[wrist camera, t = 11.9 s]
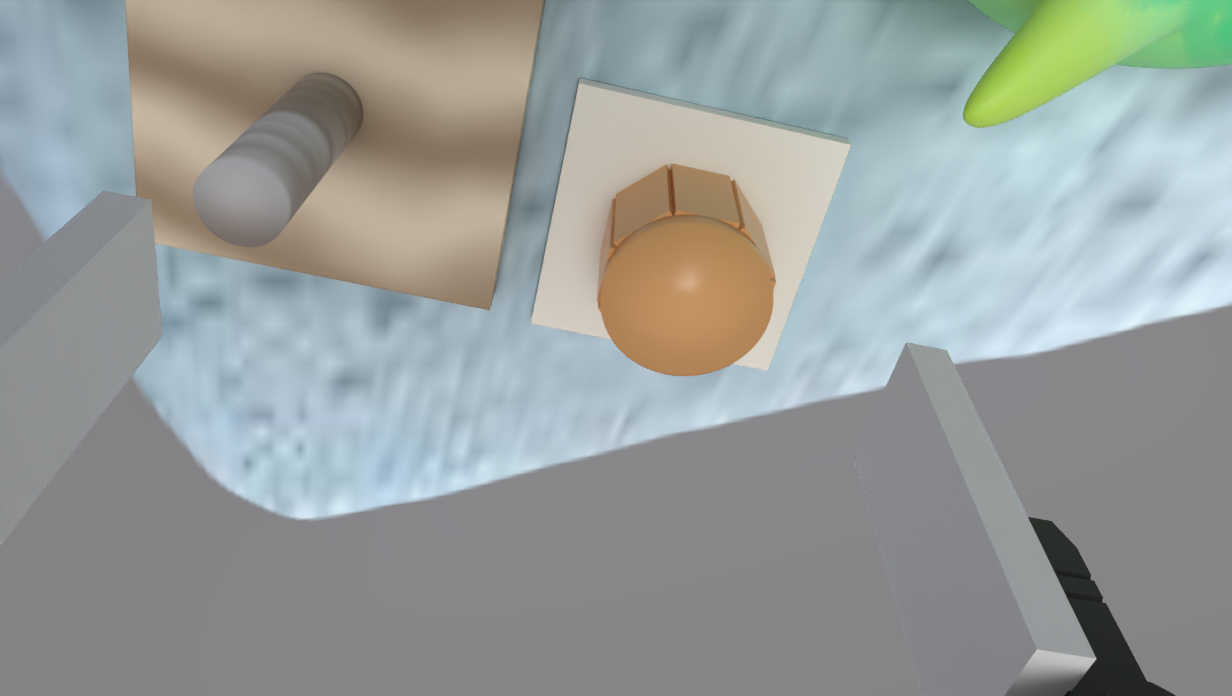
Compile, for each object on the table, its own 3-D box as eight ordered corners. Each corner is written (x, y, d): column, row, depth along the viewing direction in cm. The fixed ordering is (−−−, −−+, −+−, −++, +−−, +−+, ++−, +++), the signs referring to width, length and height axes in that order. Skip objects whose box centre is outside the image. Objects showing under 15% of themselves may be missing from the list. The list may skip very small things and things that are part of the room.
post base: (141, -156, 36) (-58, -123, 25) (555, -57, 37) (523, 11, 27) (158, 221, 44) (13, 359, 34) (495, 289, 45) (453, 441, 35)
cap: (623, 152, 41) (621, 208, 36) (777, 186, 41) (796, 245, 36) (590, 290, 44) (584, 358, 39) (733, 319, 45) (745, 390, 40)
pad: (579, 78, 40) (579, 83, 39) (847, 138, 41) (851, 144, 40) (532, 315, 46) (530, 323, 46) (765, 362, 47) (767, 370, 47)
